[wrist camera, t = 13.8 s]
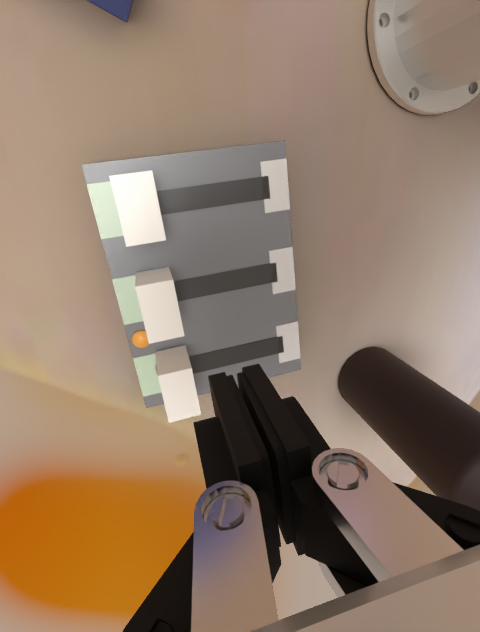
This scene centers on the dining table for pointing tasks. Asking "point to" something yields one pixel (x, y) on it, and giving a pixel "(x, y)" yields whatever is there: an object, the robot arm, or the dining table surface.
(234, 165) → the breaker panel
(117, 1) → the walkman
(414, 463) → the bottle
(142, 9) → the dining table surface
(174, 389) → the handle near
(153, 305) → the handle
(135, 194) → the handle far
